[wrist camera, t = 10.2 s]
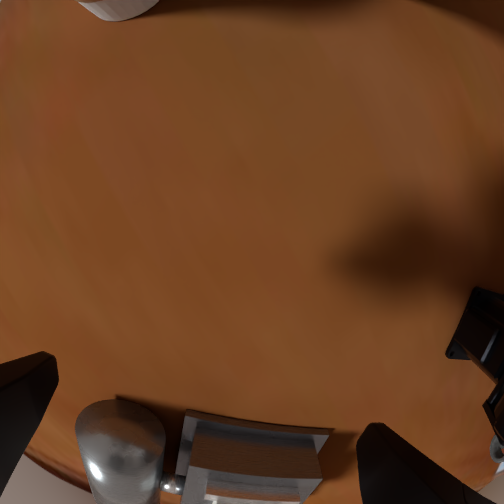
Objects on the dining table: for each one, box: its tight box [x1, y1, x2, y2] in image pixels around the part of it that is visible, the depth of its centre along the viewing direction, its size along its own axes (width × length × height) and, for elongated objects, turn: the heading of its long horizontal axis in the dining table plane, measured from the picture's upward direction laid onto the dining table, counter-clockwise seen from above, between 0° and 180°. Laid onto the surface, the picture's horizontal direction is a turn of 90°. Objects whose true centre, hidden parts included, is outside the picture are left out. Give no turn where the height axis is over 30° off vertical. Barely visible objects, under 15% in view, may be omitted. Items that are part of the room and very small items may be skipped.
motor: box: [75, 399, 329, 504], centre depth 20 cm, size 20×14×7 cm
